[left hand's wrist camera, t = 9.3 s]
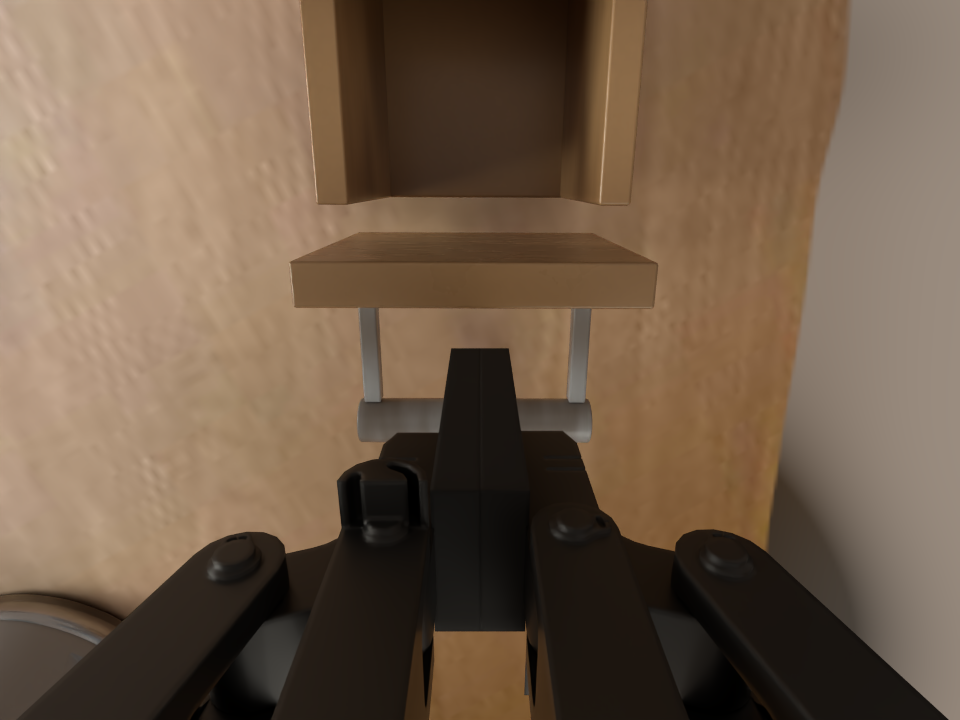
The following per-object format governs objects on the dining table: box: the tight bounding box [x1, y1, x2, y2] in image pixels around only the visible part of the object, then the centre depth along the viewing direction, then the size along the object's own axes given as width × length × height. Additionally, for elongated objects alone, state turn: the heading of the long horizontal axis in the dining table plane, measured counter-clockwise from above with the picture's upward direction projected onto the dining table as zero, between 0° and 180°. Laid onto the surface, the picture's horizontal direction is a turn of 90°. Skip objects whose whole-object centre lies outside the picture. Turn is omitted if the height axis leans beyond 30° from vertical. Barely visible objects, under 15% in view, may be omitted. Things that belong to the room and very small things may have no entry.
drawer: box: [289, 0, 658, 443], centre depth 17 cm, size 22×9×8 cm, turn 0°
